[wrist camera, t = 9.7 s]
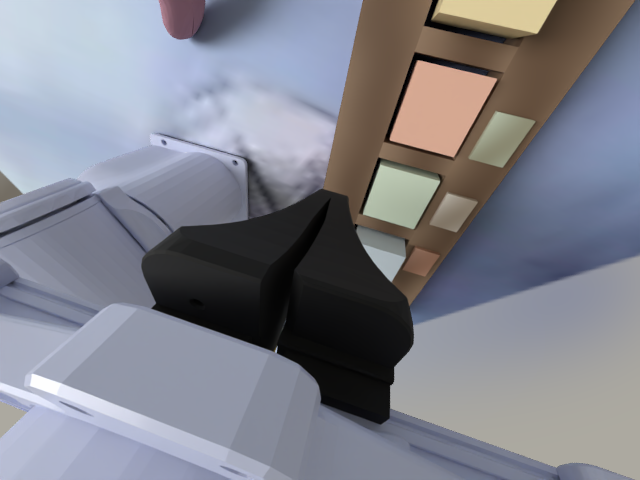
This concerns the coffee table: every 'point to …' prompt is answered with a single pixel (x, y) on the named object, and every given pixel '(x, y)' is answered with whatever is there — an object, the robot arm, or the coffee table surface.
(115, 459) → the robot arm
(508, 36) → the ochre key
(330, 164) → the keypad
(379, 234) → the bluegrey key
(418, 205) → the sage key
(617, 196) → the coffee table surface
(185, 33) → the video game controller
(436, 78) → the terracotta key
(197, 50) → the coffee table surface
